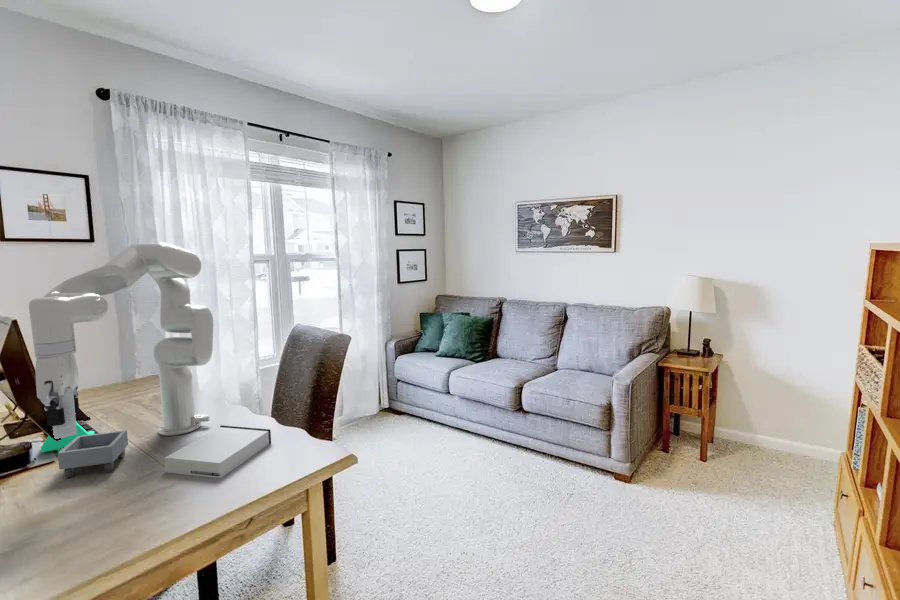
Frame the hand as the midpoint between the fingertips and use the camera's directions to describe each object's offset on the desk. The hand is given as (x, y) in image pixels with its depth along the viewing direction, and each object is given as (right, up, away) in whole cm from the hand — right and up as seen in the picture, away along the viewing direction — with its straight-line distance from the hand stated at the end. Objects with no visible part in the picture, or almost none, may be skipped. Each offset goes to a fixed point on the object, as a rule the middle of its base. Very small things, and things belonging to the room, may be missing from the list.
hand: (64, 418), depth 110 cm
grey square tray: (-5, -18, +17) cm, 25 cm away
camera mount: (-25, -17, +31) cm, 43 cm away
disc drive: (+27, -18, +22) cm, 40 cm away
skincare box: (0, -4, +1) cm, 4 cm away
